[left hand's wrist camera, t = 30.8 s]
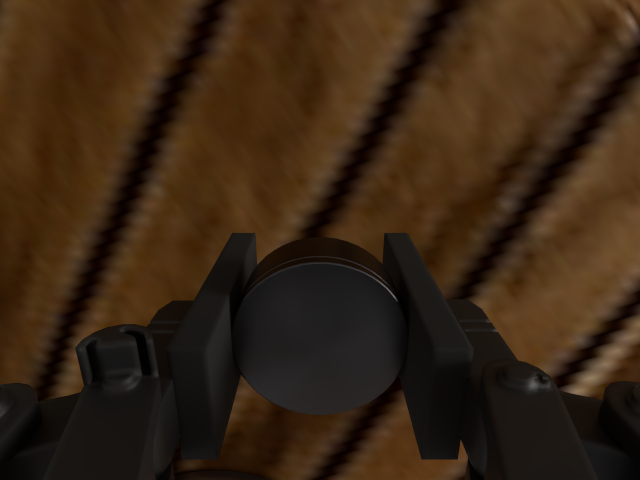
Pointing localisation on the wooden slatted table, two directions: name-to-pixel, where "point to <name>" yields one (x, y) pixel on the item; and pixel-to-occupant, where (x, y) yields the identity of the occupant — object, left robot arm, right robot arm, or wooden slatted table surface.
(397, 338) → the lid
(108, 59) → the wooden slatted table surface
